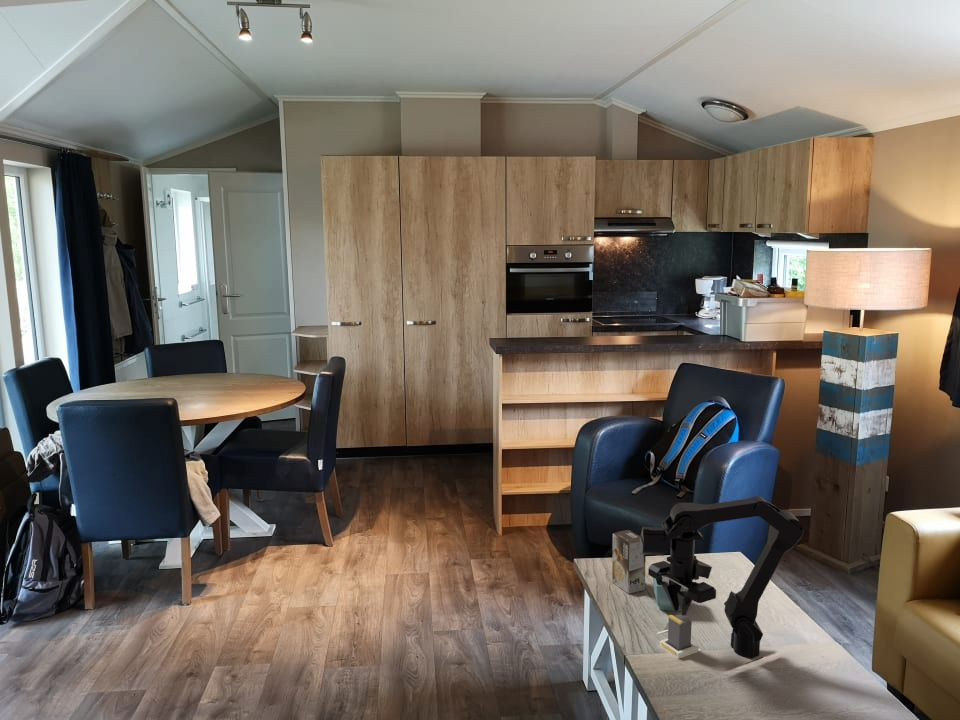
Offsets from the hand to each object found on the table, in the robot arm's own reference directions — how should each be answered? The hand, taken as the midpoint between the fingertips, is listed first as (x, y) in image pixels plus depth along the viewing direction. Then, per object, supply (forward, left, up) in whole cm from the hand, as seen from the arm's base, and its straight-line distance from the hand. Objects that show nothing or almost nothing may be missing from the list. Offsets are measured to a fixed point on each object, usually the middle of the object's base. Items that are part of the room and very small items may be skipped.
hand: (679, 612), depth 193 cm
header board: (+3, -1, -11) cm, 11 cm away
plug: (0, 0, -10) cm, 10 cm away
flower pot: (+19, -14, -11) cm, 26 cm away
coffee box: (+36, -13, -11) cm, 40 cm away
